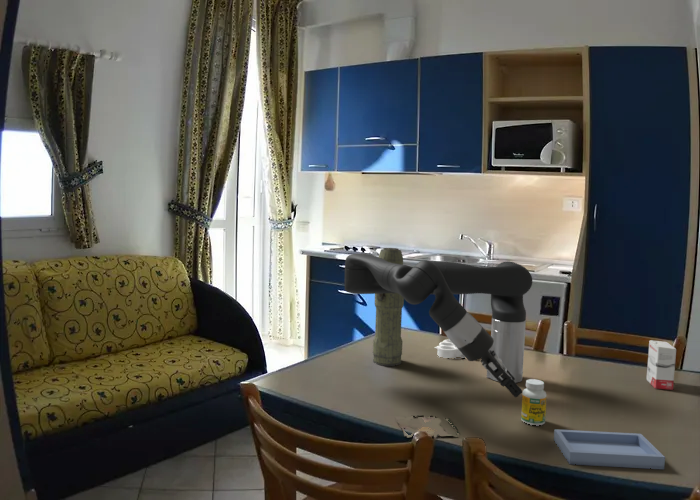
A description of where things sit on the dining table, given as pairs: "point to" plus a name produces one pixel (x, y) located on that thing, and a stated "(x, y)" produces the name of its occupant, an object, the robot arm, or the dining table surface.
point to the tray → (608, 449)
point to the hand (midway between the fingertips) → (515, 387)
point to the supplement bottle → (534, 403)
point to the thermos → (388, 319)
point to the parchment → (426, 427)
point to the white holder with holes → (448, 350)
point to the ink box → (661, 365)
